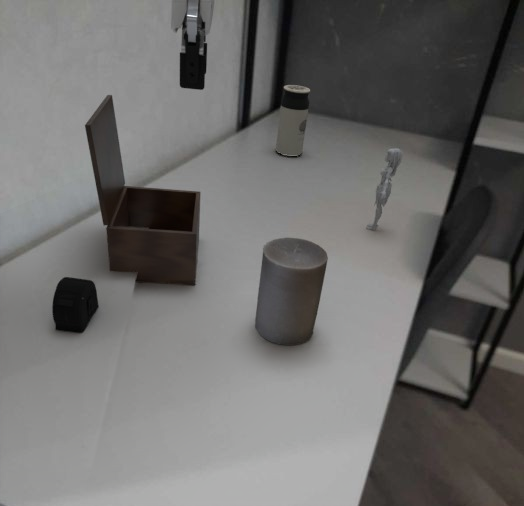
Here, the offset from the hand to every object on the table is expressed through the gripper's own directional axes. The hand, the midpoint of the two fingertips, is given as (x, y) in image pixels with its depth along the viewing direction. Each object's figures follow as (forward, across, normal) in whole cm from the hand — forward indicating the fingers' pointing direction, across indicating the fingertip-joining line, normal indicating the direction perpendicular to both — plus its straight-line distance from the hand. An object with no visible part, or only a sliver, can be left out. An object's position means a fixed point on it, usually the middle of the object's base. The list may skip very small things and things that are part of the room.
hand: (193, 80), depth 72 cm
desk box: (+33, -9, -6) cm, 34 cm away
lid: (+15, -9, -14) cm, 22 cm away
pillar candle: (+33, +12, +16) cm, 38 cm away
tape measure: (+33, +18, -16) cm, 41 cm away
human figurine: (+33, -29, +41) cm, 60 cm away
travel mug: (+33, -79, +26) cm, 89 cm away
